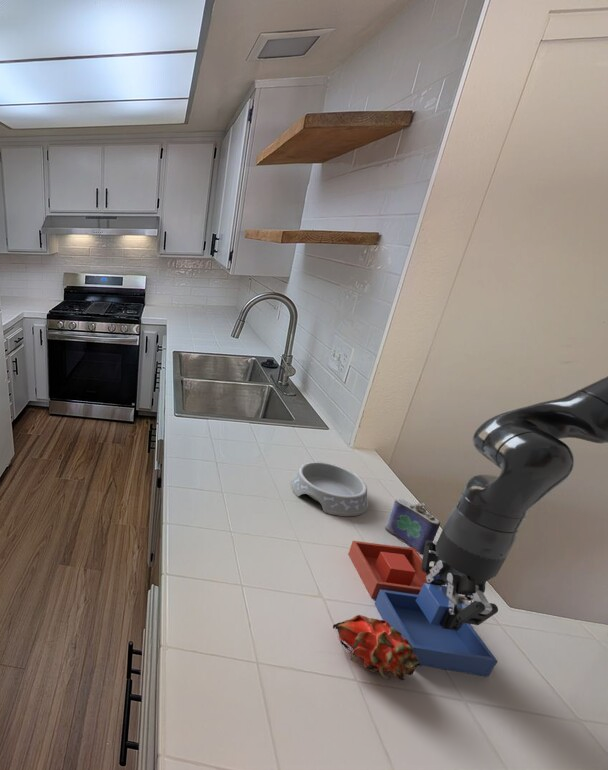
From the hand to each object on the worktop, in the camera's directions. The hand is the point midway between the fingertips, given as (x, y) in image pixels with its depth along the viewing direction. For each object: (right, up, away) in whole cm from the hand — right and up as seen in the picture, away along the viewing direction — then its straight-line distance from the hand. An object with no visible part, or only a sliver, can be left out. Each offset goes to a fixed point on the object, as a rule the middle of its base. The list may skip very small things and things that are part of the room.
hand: (438, 612), depth 67 cm
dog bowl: (+4, +10, +39) cm, 41 cm away
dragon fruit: (-13, -8, -1) cm, 15 cm away
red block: (+2, -1, +14) cm, 14 cm away
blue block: (0, 0, 0) cm, 0 cm away
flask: (+13, +3, +24) cm, 27 cm away
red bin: (+2, -1, +14) cm, 14 cm away
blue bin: (0, -6, +2) cm, 6 cm away
